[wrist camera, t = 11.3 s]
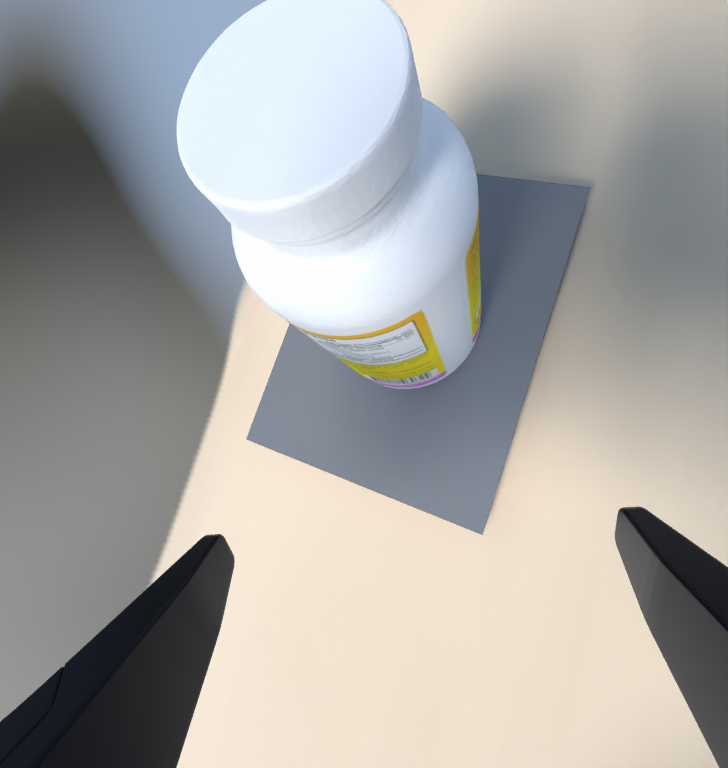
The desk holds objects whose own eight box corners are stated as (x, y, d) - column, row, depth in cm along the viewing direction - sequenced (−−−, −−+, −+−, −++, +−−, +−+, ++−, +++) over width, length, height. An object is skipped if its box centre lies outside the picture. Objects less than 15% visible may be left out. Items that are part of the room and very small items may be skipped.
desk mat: (482, 531, 18) (482, 534, 17) (256, 440, 21) (246, 439, 21) (584, 201, 19) (589, 187, 18) (356, 171, 23) (351, 159, 22)
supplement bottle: (410, 233, 20) (303, -113, 8) (513, 317, 18) (577, 13, 6) (316, 329, 21) (81, 136, 9) (406, 422, 18) (262, 339, 6)
